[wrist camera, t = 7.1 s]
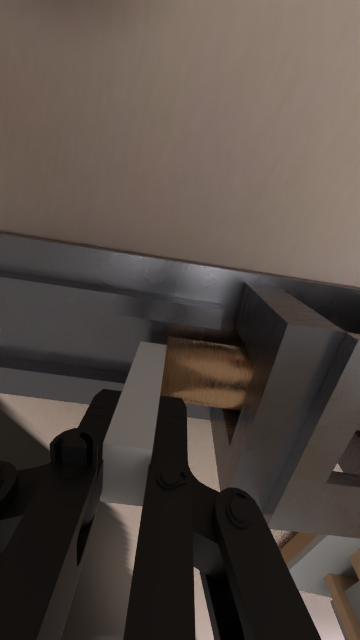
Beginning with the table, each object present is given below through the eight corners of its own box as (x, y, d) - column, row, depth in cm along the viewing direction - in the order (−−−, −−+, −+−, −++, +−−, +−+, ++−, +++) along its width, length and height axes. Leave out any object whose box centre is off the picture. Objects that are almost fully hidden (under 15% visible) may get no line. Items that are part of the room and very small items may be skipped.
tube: (170, 324, 14) (164, 361, 11) (402, 359, 15) (460, 403, 12) (163, 370, 16) (156, 414, 13) (372, 400, 17) (416, 448, 14)
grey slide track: (-21, 228, 14) (-251, 234, 6) (482, 306, 15) (762, 385, 8) (4, 383, 18) (-119, 492, 11) (396, 434, 19) (526, 563, 12)
